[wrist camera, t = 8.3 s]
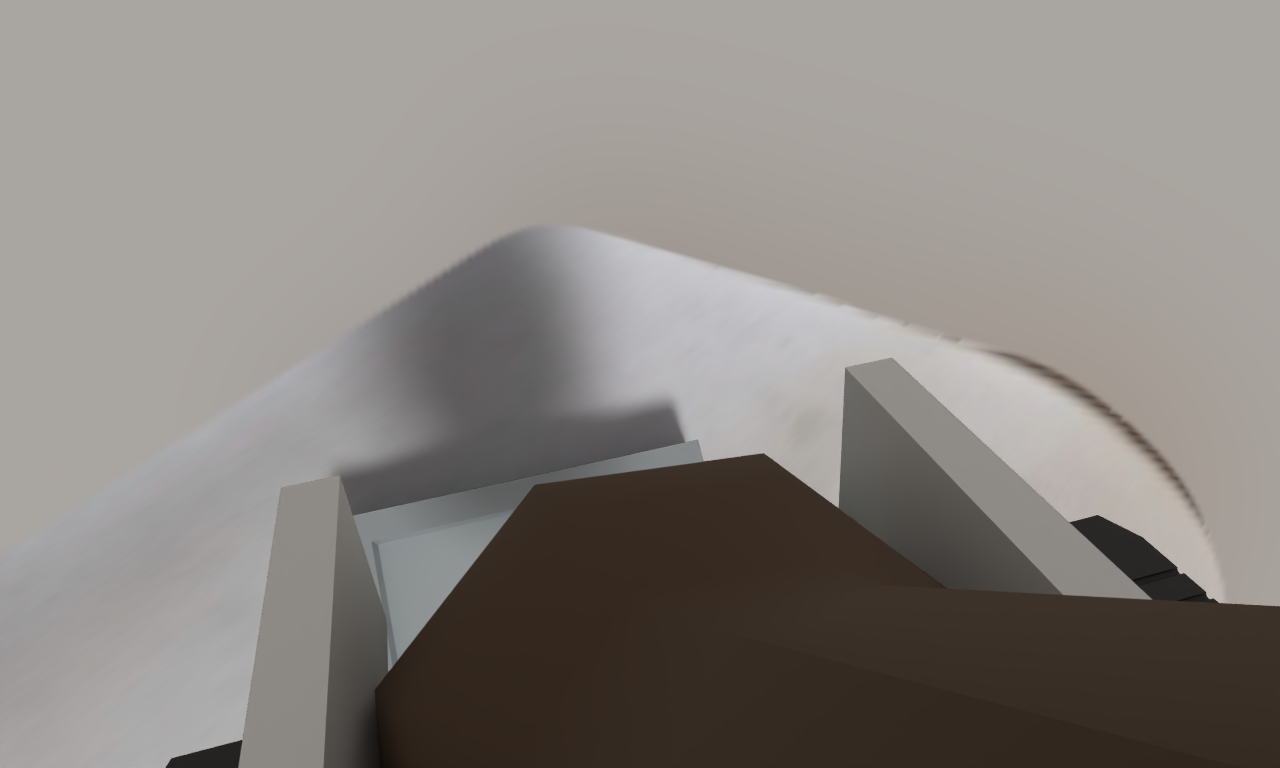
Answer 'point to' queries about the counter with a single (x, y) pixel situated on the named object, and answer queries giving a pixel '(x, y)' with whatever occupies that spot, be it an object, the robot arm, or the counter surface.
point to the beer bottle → (800, 648)
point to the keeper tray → (461, 537)
